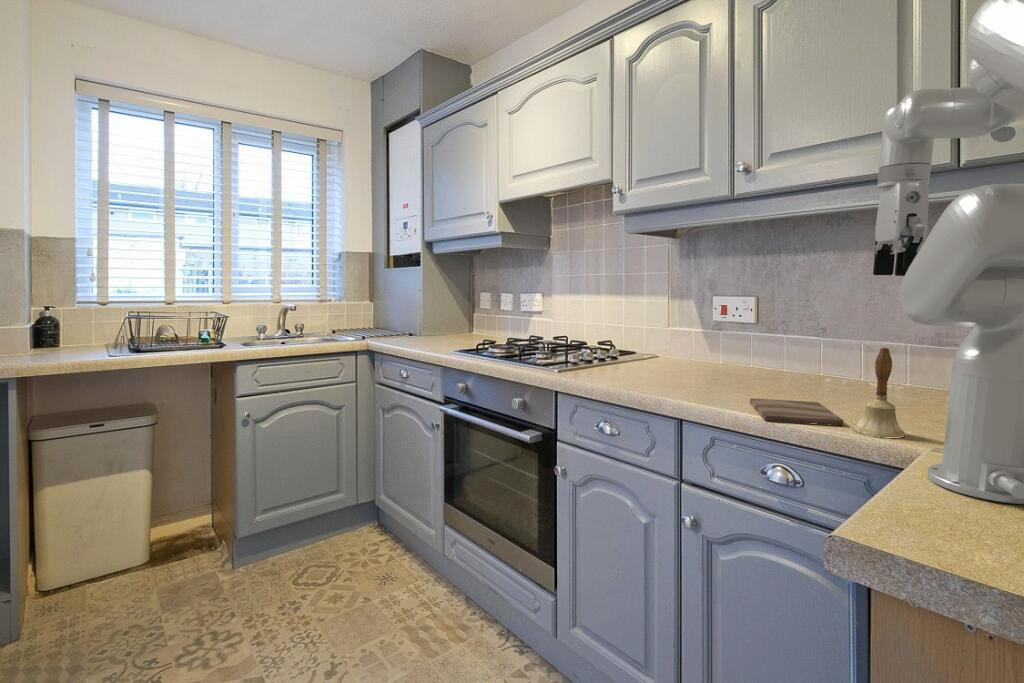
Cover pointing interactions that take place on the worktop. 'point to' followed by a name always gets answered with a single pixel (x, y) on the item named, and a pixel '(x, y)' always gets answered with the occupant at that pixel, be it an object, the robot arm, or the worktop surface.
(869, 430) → the hand bell
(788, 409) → the walnut board
